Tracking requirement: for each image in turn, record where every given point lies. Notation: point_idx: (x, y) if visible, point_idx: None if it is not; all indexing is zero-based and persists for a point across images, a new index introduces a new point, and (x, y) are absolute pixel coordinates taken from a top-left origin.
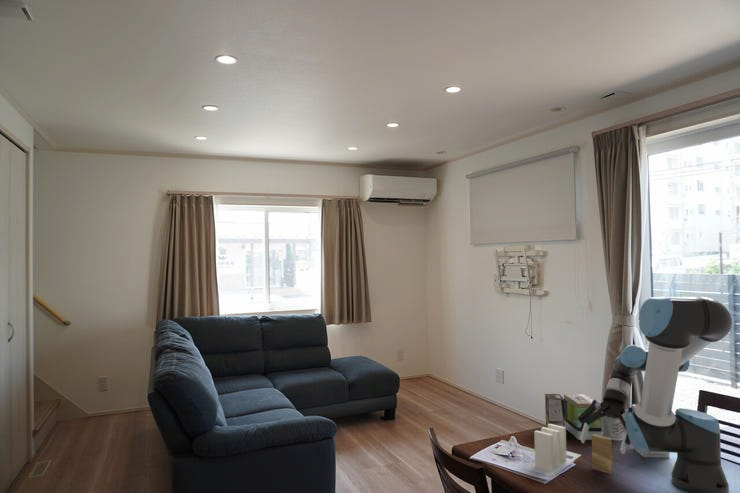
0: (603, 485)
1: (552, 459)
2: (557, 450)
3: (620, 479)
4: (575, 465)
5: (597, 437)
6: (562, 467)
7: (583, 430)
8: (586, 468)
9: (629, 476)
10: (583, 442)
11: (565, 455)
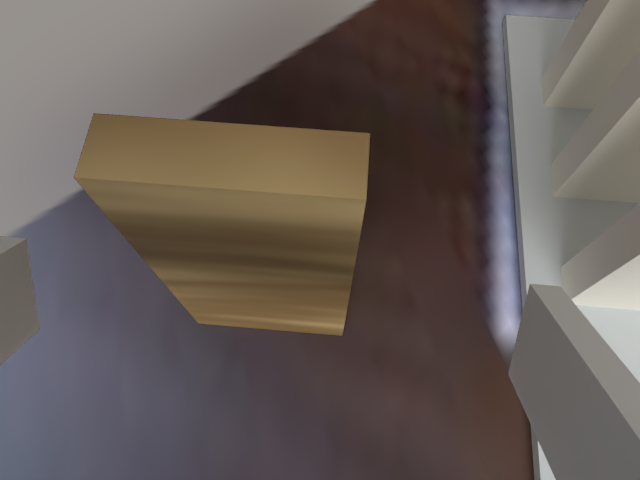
0: (216, 116)
1: (576, 38)
2: (615, 83)
3: (132, 269)
4: (483, 306)
5: (279, 135)
6: (522, 174)
7: (605, 367)
8: (394, 305)
9: (75, 371)
10: (513, 355)
11: (588, 269)
